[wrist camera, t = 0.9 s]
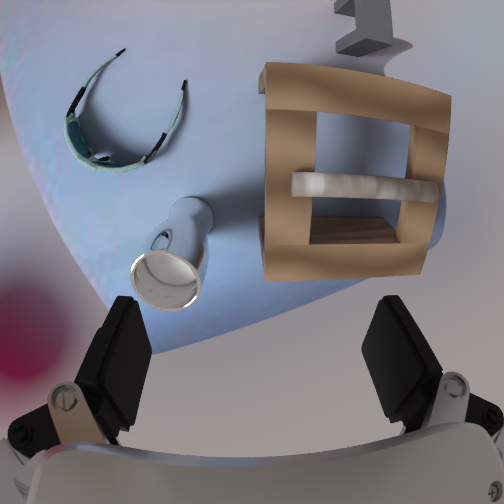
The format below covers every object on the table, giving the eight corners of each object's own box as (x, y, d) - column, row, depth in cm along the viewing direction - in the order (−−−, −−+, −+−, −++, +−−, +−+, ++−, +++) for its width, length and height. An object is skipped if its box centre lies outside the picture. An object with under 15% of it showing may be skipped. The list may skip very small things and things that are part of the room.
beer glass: (224, 203, 36) (213, 264, 23) (207, 248, 39) (192, 322, 26) (173, 186, 35) (134, 237, 22) (160, 232, 38) (123, 299, 25)
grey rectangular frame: (333, 3, 23) (360, -23, 15) (355, 7, 23) (387, -15, 15) (336, 53, 27) (366, 38, 19) (358, 56, 27) (393, 44, 19)
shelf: (258, 78, 29) (268, 57, 16) (395, 93, 29) (464, 97, 17) (258, 230, 38) (266, 294, 26) (380, 230, 39) (428, 284, 26)
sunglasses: (64, 140, 31) (45, 142, 26) (118, 48, 27) (105, 37, 22) (139, 187, 35) (128, 194, 30) (201, 91, 31) (198, 84, 26)
